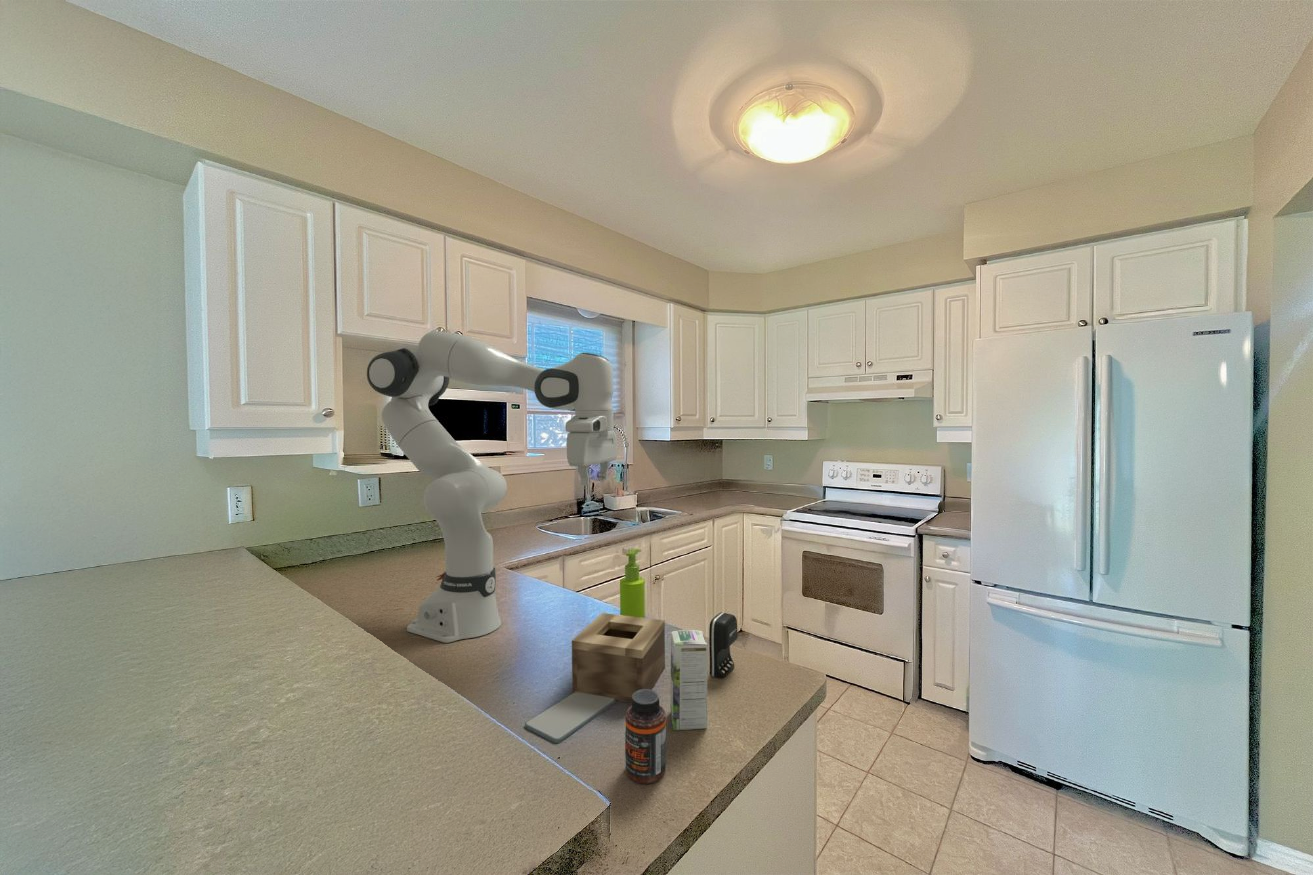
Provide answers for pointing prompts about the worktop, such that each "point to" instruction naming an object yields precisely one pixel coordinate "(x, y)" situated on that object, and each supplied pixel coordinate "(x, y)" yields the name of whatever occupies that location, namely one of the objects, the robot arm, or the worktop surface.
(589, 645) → the box
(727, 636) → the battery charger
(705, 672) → the syrup box
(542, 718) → the smartphone
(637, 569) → the soap dispenser
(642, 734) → the supplement bottle
